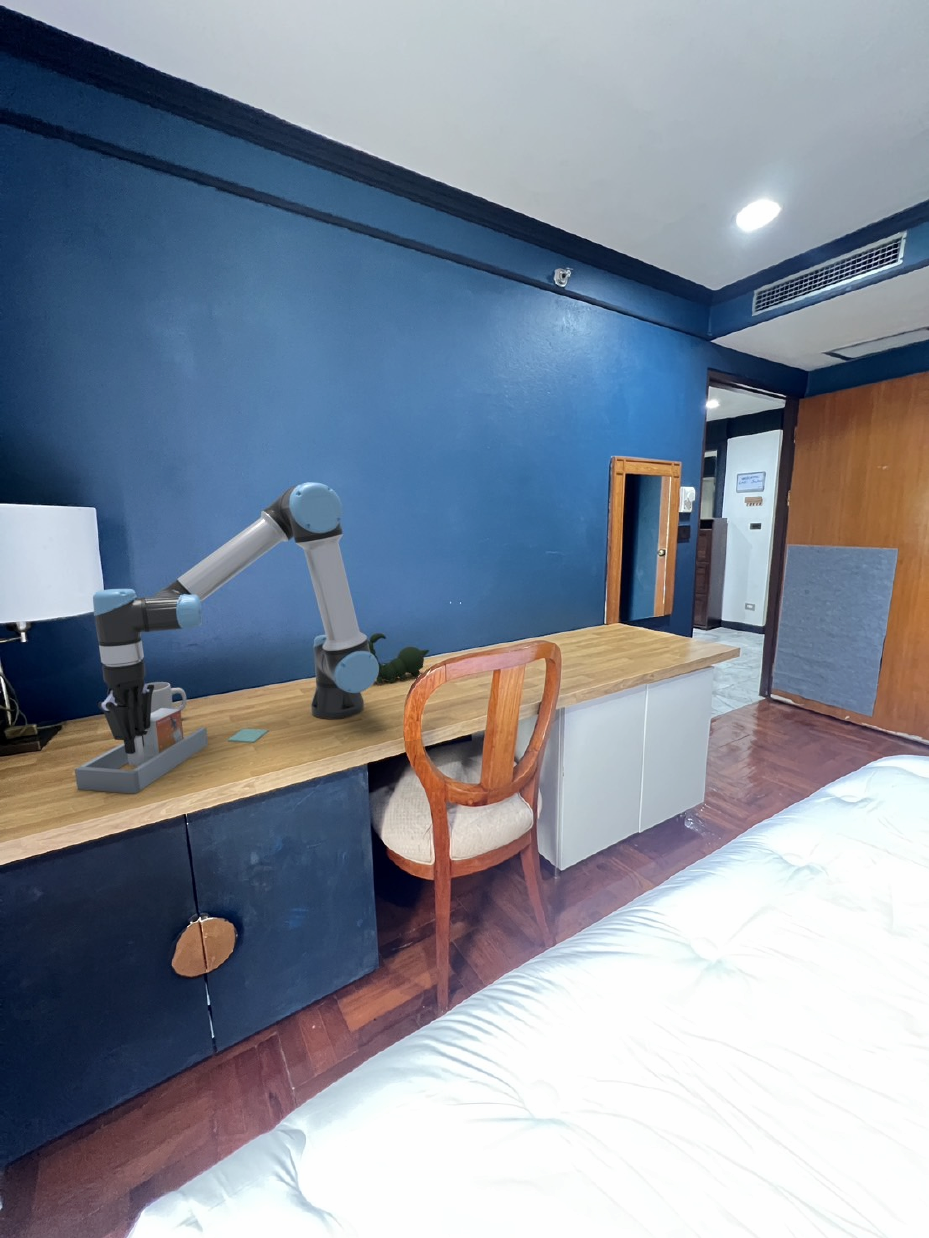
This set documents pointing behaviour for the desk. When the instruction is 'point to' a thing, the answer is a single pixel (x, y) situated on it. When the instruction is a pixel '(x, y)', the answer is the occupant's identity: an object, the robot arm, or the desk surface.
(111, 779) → the channel
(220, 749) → the desk surface
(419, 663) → the toy figurine
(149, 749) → the small box
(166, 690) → the mug
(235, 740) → the pad
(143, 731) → the robot arm
